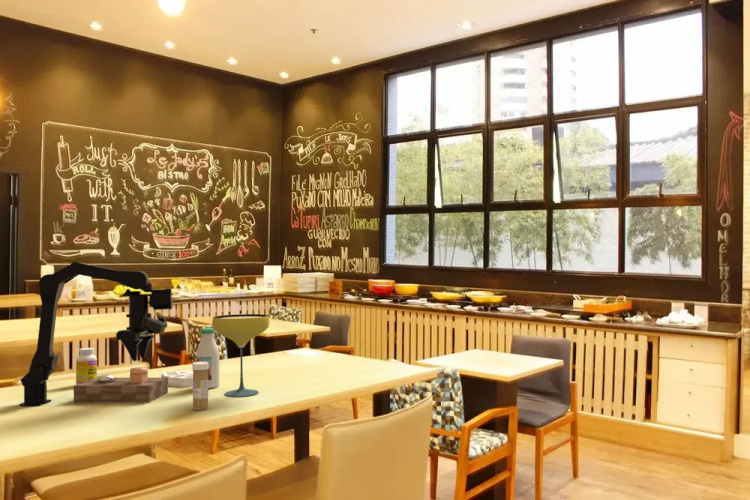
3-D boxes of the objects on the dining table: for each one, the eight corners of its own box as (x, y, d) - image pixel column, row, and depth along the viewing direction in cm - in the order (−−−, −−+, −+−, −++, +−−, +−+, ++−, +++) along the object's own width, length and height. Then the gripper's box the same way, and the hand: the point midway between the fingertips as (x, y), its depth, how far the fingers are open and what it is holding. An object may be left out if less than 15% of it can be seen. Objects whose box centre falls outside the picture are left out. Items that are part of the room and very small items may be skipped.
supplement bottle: (88, 387, 213) (88, 350, 213) (71, 386, 214) (71, 349, 215) (100, 383, 219) (100, 347, 220) (84, 383, 221) (84, 347, 221)
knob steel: (109, 394, 193) (109, 377, 193) (93, 394, 193) (93, 377, 193) (117, 391, 198) (117, 374, 198) (101, 391, 198) (101, 374, 199)
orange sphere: (143, 387, 192) (143, 369, 192) (127, 387, 193) (127, 369, 193) (150, 383, 197) (150, 367, 198) (134, 383, 198) (134, 367, 198)
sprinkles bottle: (189, 409, 178) (189, 362, 178) (203, 406, 181) (202, 360, 182) (198, 411, 175) (198, 364, 175) (212, 408, 178) (211, 362, 179)
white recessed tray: (214, 383, 219) (176, 390, 208) (188, 377, 231) (151, 383, 220) (214, 374, 219) (176, 380, 208) (188, 368, 231) (151, 374, 220)
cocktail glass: (210, 390, 204) (209, 315, 205) (264, 386, 210) (263, 313, 211) (216, 401, 187) (215, 319, 188) (275, 396, 193) (274, 317, 194)
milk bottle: (210, 383, 216) (210, 326, 217) (224, 386, 211) (223, 328, 212) (191, 387, 210) (191, 328, 211) (205, 390, 205) (204, 330, 206)
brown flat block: (149, 402, 187) (149, 386, 188) (73, 402, 189) (73, 386, 189) (167, 392, 201) (167, 377, 202) (97, 392, 203) (97, 377, 203)
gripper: (150, 312, 186) (150, 364, 185) (174, 308, 204) (175, 355, 204) (114, 312, 186) (115, 364, 186) (142, 308, 205) (142, 355, 205)
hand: (138, 359), depth 195 cm, fingers open, 5 cm apart
